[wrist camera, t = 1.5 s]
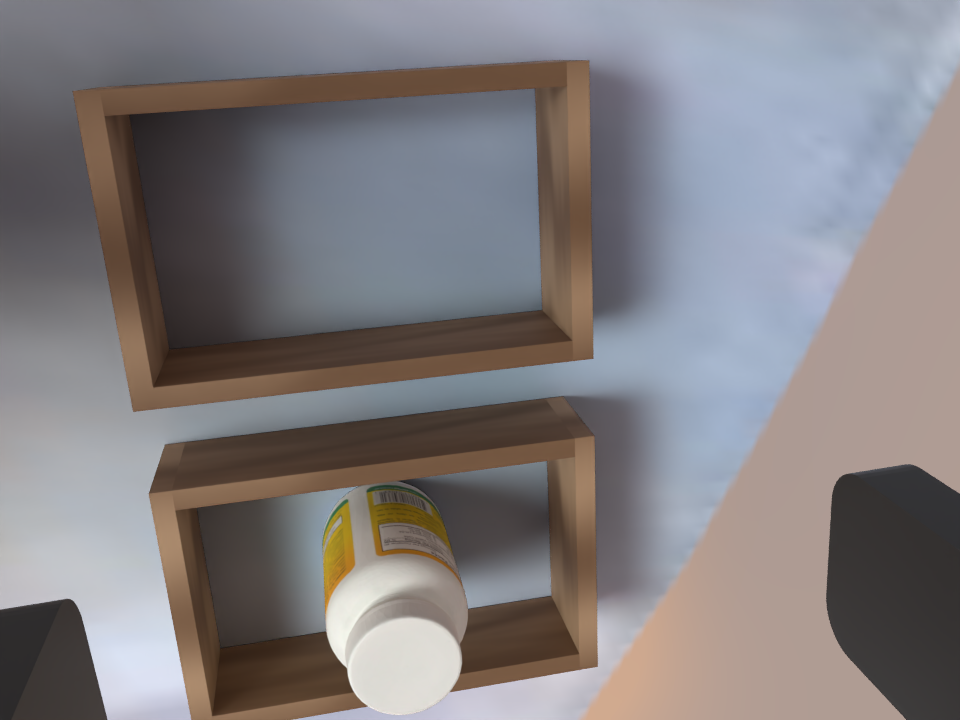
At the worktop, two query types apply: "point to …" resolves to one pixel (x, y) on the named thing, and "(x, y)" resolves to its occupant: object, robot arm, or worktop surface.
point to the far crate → (363, 461)
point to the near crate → (357, 352)
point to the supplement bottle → (393, 597)
